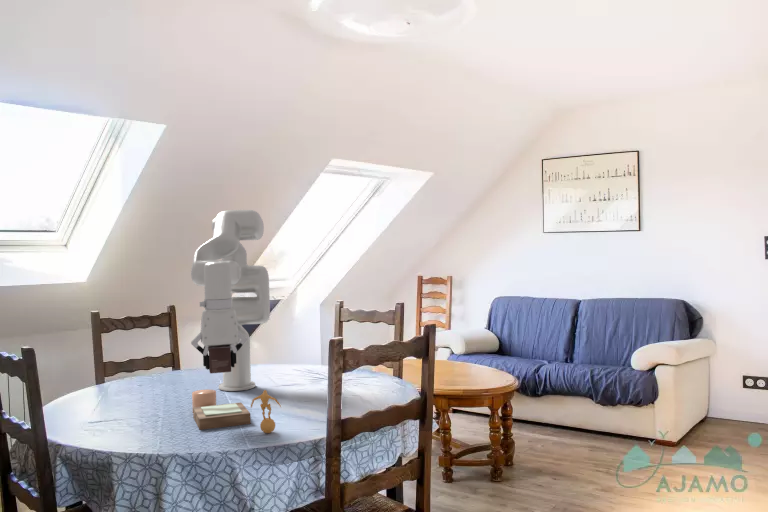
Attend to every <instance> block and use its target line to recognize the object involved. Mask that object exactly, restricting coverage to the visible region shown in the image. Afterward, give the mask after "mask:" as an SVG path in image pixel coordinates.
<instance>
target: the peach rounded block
mask: <svg viewBox="0 0 768 512" xmlns="http://www.w3.org/2000/svg"><path fill="white" fill-rule="evenodd" d="M191 398H192V399H191V400H192V401H191V403H192V409H191V410H192V411H193V408H194V407H203V406H212V405H217V391H216V390H214V389H199V390H194V391H192V393H191Z"/></svg>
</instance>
